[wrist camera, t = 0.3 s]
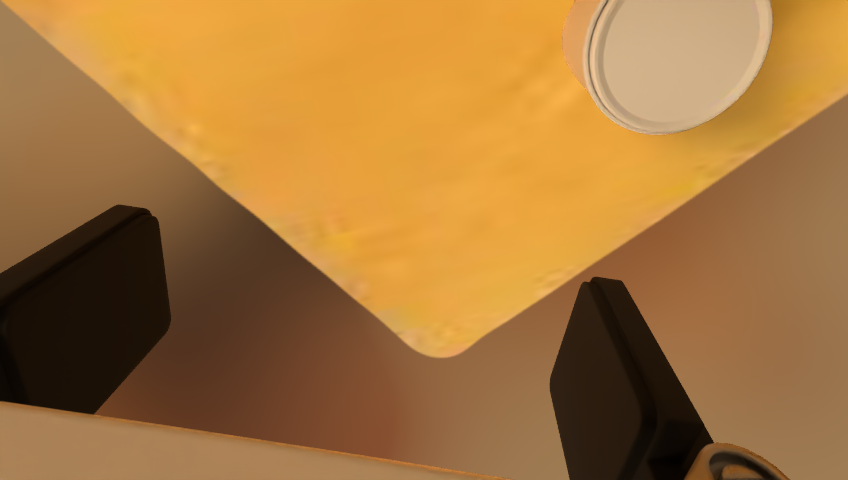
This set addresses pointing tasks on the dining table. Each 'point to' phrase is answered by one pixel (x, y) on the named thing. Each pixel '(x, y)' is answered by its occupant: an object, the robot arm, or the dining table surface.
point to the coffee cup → (666, 57)
